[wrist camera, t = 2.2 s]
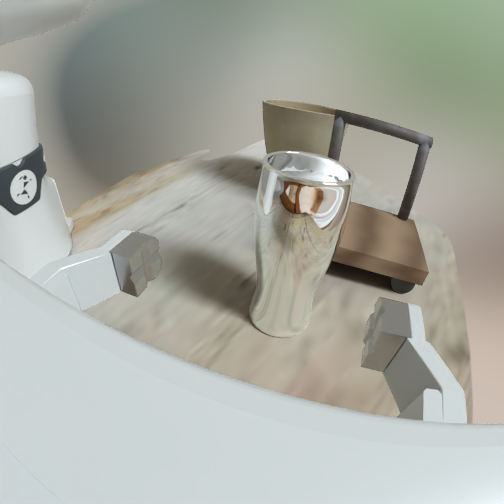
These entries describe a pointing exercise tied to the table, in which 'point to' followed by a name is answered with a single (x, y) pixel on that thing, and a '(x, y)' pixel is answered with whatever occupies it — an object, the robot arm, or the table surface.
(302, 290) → the beer glass
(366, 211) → the dolly
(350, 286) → the table surface
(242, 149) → the table surface
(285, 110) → the plant pot
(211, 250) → the table surface
